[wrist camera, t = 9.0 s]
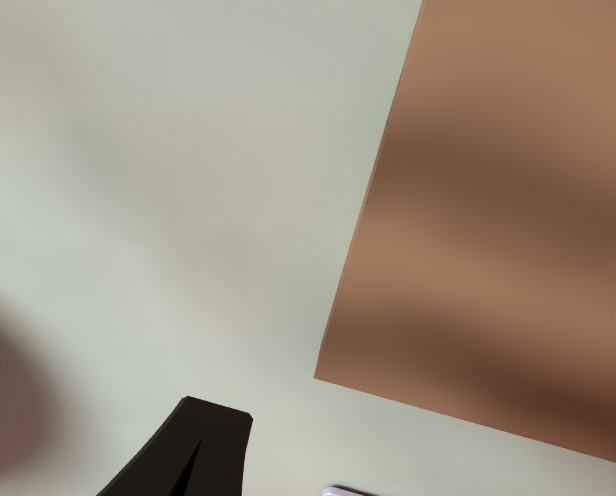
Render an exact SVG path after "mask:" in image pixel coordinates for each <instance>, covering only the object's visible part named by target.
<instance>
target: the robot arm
mask: <svg viewBox="0 0 616 496" xmlns="http://www.w3.org/2000/svg"><path fill="white" fill-rule="evenodd" d="M252 422H253V418H252V417H251V415H250V414H249V413H246V412H243V411H239V410H236V409H232V408H229V407H225V406H222V405H218V404H215V403H211V402H208V401H204V400H201V399H197V398H194V397H190V396H187V397H184V398H182V399H181V401H180V402H179V403H178V405H177V406H176V407H175V409H174V410H173V411H172V413H171V414H170V415H169V417H168V418H167V419H166V420H165V422H164V423H163V424H162V425H161V427H160V428H159V429H158V430H157V431H156V432H155V434H154V435H153V436H152V437H151V438H150V439H149V441H148V442H147V443H146V444H145V445H144V446H143V447H142V448H141V450H140V451H139V452H138V453H137V454H136V455H135V456H134V457H133V458H132V459H131V460H130V461H129V462H128V464H127V465H126V466H125V467H124V468H123V469H122V470H121V471H120V472H119V473H118V474H117V475H116V476H115V477H114V478H113V479H112V480H111V481H110V482H109V484H108V485H107V486H106V487H105V488H104V489H103V490H102V491H101V492H100V493H98V494H97V495H96V496H242V481H243V470H244V460H245V453H246V448H247V444H248V439H249V435H250V431H251V427H252ZM321 496H363V495H360V494H356V493H353V492H349V491H346V490H342V489H339V488H335V487H328V488H326V489H324V491H323V493H322V495H321Z"/></svg>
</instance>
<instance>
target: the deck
mask: <svg viewBox="0 0 616 496" xmlns="http://www.w3.org/2000/svg"><path fill="white" fill-rule="evenodd" d="M314 378H315V379H319V380H322V381H326V382H330V383H333V384H337V385H340V386H344V387H348V388H351V389H355V390H358V391H362V392H365V393H369V394H373V395H376V396H380V397H383V398H387V399H390V400H394V401H398V402H401V403H405V404H408V405H412V406H416V407H419V408H423V409H426V410H430V411H433V412H437V413H441V414H444V415H448V416H451V417H455V418H459V419H462V420H466V421H469V422H473V423H476V424H480V425H484V426H487V427H491V428H494V429H498V430H501V431H505V432H509V433H512V434H516V435H519V436H523V437H527V438H530V439H534V440H537V441H541V442H544V443H548V444H552V445H555V446H559V447H562V448H566V449H569V450H573V451H577V452H580V453H584V454H587V455H591V456H595V457H598V458H602V459H605V460H609V461H612V462H616V0H423V1H422V5H421V8H420V11H419V15H418V18H417V21H416V25H415V28H414V32H413V35H412V38H411V42H410V45H409V48H408V52H407V55H406V59H405V62H404V65H403V69H402V72H401V76H400V79H399V82H398V86H397V89H396V92H395V96H394V99H393V103H392V106H391V109H390V113H389V116H388V120H387V123H386V126H385V130H384V133H383V136H382V140H381V143H380V147H379V150H378V153H377V157H376V160H375V164H374V167H373V170H372V174H371V177H370V180H369V184H368V187H367V191H366V194H365V197H364V201H363V204H362V207H361V211H360V214H359V218H358V221H357V224H356V228H355V231H354V235H353V238H352V241H351V245H350V248H349V251H348V255H347V258H346V262H345V265H344V268H343V272H342V275H341V279H340V282H339V285H338V289H337V292H336V295H335V299H334V302H333V306H332V309H331V312H330V316H329V319H328V322H327V326H326V329H325V333H324V336H323V339H322V343H321V348H320V352H319V356H318V361H317V365H316V370H315V374H314Z"/></svg>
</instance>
